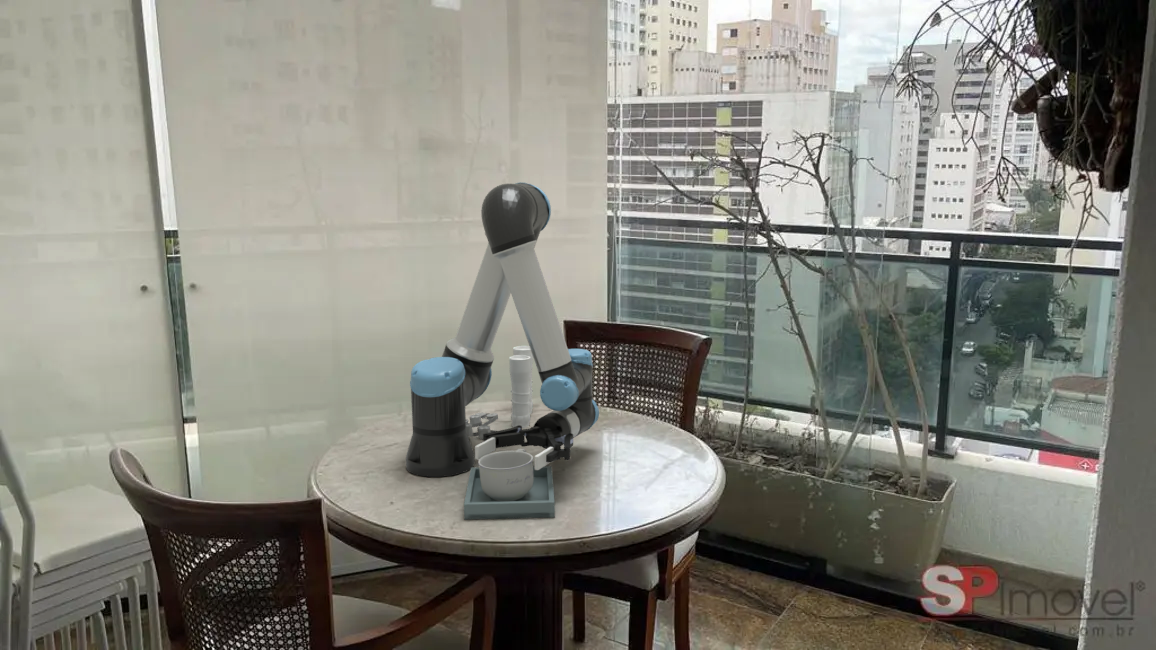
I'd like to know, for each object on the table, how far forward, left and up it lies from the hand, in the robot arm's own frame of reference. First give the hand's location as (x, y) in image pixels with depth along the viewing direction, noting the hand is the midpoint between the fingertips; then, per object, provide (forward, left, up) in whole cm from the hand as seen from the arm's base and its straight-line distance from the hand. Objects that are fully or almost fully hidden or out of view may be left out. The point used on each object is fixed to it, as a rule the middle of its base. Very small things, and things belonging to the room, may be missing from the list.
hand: (505, 458), depth 164 cm
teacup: (+1, +2, -8) cm, 8 cm away
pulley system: (-8, +46, -10) cm, 48 cm away
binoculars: (+3, +57, -9) cm, 58 cm away
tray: (+1, +2, -9) cm, 9 cm away
